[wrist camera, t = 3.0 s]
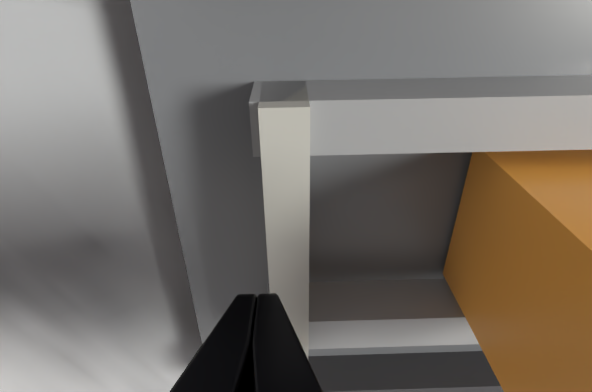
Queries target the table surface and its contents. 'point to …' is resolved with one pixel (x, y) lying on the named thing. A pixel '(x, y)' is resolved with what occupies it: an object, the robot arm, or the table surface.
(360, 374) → the grey rectangular base plate
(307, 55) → the grey rectangular tray
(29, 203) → the table surface
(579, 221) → the toggle
